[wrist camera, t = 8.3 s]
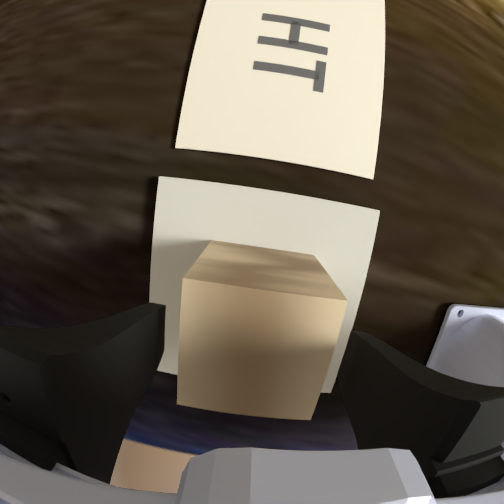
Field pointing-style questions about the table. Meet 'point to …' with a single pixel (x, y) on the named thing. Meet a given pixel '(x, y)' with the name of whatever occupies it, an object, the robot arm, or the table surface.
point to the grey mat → (255, 243)
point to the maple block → (256, 331)
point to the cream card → (288, 82)
